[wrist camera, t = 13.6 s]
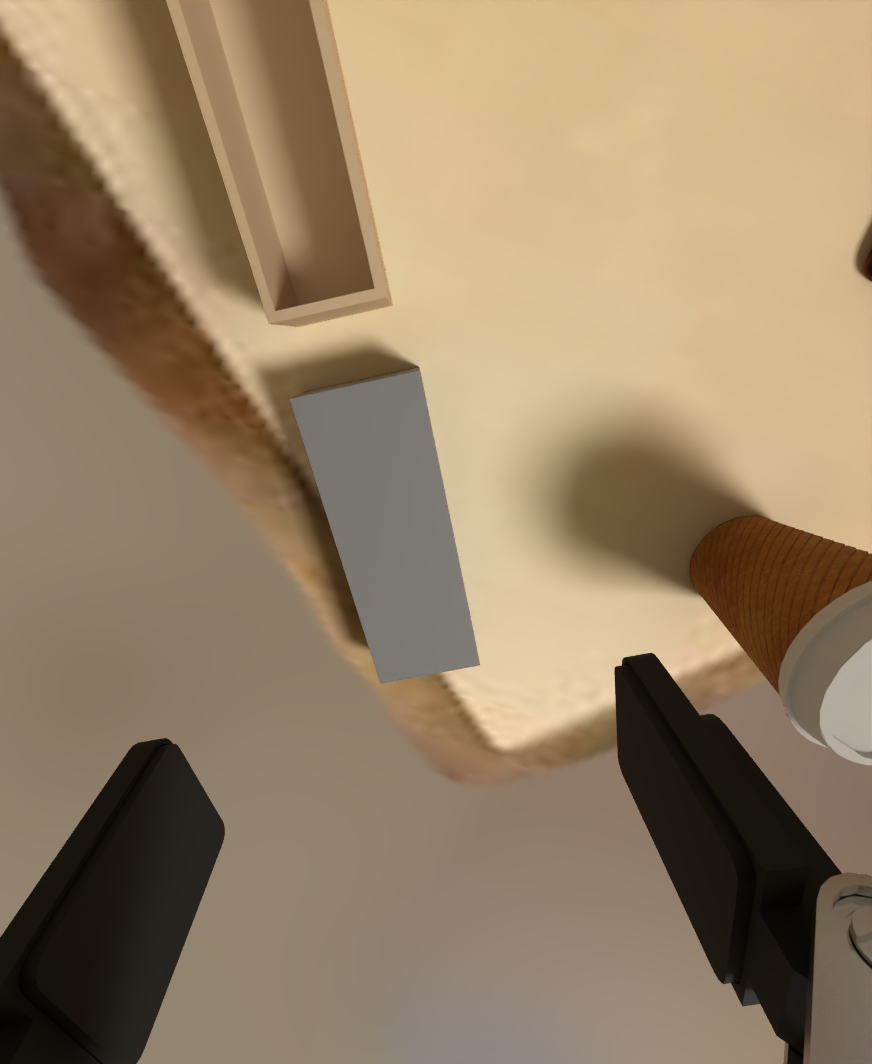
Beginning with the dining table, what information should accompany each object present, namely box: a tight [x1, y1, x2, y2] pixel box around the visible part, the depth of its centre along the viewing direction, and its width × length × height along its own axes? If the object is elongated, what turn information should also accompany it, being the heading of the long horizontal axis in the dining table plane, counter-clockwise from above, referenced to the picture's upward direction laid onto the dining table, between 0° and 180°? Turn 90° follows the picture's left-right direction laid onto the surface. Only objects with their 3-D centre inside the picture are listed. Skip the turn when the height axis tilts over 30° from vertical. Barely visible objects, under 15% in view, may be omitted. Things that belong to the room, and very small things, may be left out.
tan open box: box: [166, 0, 393, 327], centre depth 18 cm, size 16×5×5 cm, turn 12°
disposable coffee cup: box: [690, 516, 872, 765], centre depth 24 cm, size 10×10×12 cm
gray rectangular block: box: [290, 367, 480, 684], centre depth 27 cm, size 18×6×3 cm, turn 11°
